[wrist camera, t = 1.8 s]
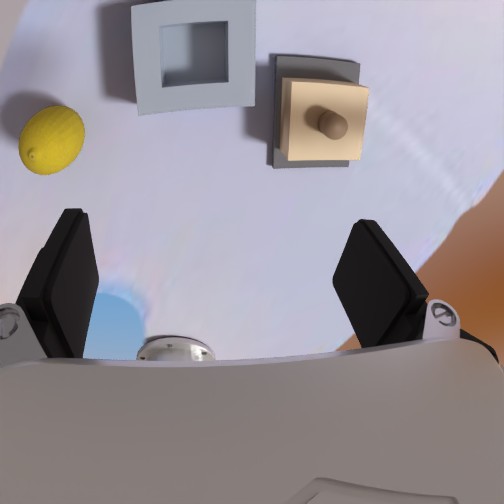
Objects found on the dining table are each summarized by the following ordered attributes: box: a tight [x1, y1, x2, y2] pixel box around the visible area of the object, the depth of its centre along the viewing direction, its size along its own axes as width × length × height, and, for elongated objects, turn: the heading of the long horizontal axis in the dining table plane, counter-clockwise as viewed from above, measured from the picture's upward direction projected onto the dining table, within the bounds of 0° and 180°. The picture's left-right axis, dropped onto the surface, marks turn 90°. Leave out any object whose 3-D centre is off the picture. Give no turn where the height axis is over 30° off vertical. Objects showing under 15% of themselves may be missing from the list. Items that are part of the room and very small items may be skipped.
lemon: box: [19, 105, 85, 175], centre depth 21 cm, size 6×6×8 cm
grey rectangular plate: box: [272, 56, 360, 169], centre depth 27 cm, size 11×8×1 cm
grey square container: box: [131, 0, 256, 116], centre depth 21 cm, size 9×9×4 cm
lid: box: [280, 77, 369, 161], centre depth 25 cm, size 7×7×4 cm
